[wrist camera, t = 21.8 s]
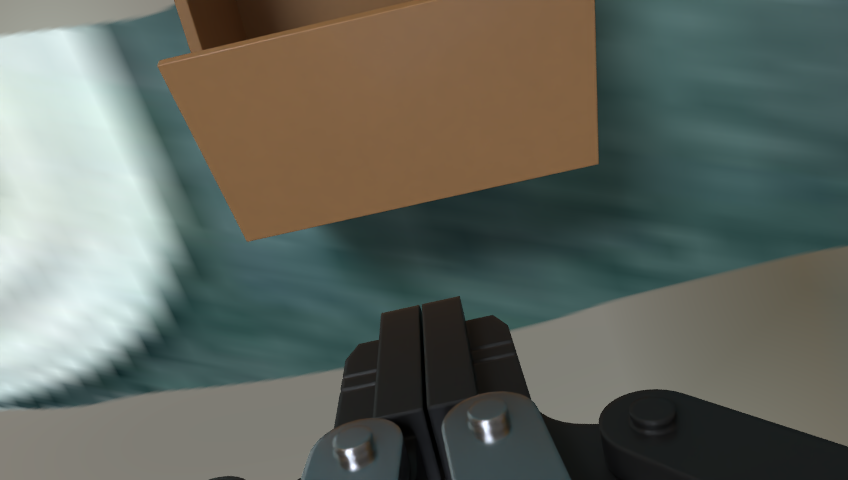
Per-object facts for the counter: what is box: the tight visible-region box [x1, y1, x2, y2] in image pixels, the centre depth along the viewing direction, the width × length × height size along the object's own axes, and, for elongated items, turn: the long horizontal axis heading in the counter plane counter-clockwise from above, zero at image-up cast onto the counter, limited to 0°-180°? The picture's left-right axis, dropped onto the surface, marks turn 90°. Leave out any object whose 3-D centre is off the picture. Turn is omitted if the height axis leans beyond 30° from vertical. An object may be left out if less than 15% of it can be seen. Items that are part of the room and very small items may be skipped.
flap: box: [158, 0, 599, 241], centre depth 26 cm, size 15×8×1 cm, turn 103°
